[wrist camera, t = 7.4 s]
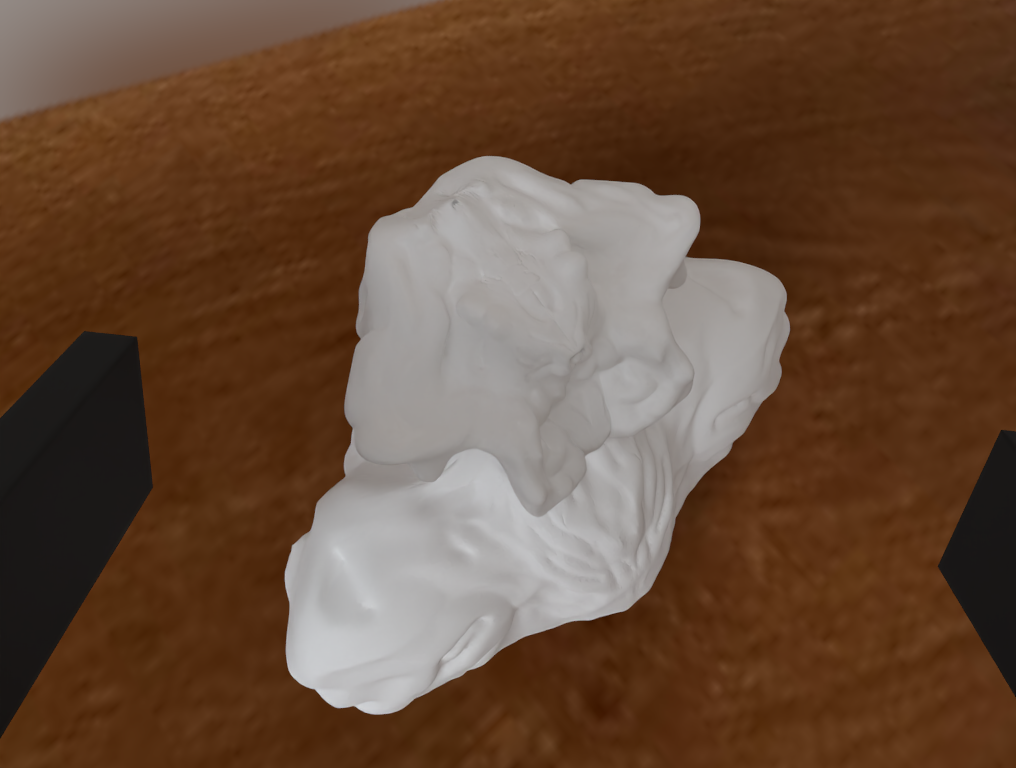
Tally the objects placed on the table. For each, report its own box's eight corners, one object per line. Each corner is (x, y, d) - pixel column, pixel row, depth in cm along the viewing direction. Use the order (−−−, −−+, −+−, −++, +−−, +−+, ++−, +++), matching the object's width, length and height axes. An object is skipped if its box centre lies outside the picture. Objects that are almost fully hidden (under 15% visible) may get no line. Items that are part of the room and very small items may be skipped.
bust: (678, 349, 24) (556, -65, 17) (921, 498, 19) (904, -15, 11) (319, 641, 22) (-17, 306, 14) (483, 911, 16) (81, 601, 9)
